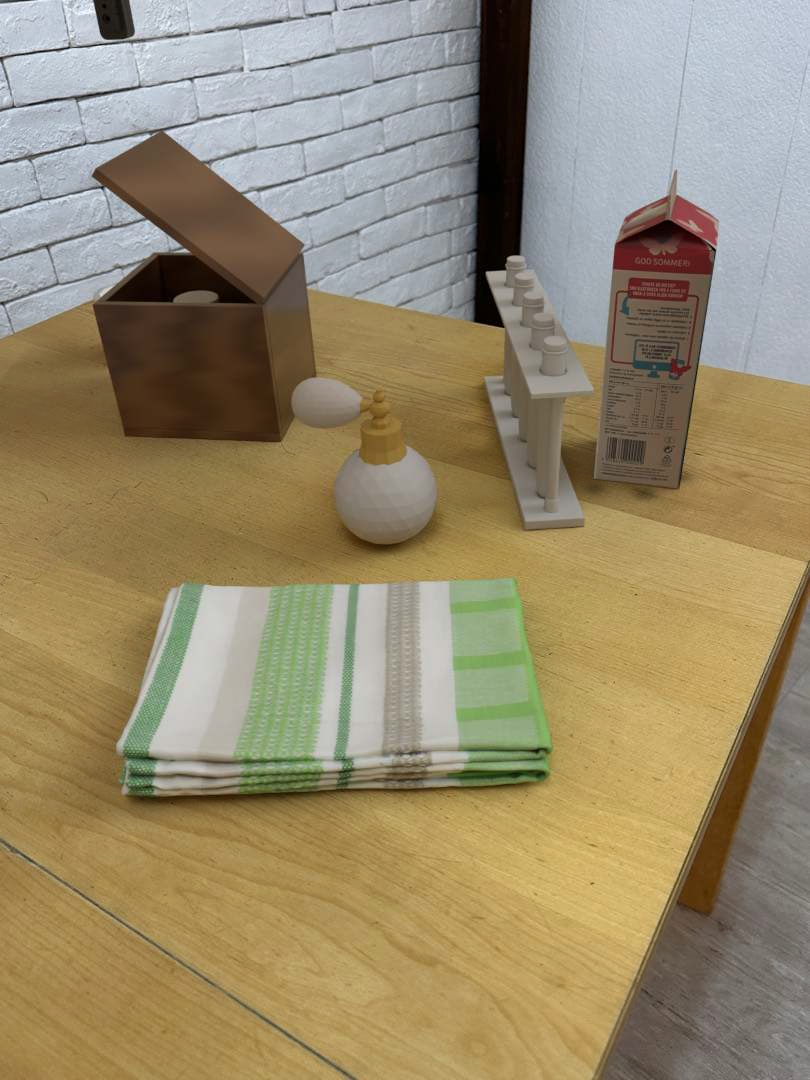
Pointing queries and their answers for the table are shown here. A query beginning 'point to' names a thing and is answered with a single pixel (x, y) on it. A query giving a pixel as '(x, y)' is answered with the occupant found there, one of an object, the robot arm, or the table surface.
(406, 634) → the dish towel
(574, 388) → the test tube rack
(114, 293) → the chest
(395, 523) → the perfume bottle
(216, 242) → the lid
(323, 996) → the table surface
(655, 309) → the juice carton
